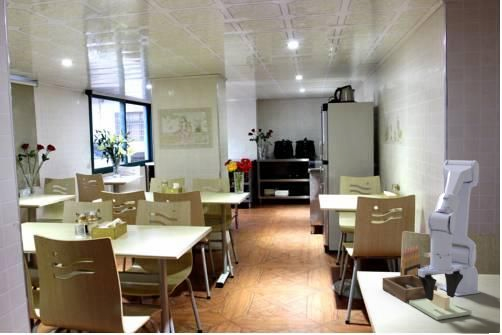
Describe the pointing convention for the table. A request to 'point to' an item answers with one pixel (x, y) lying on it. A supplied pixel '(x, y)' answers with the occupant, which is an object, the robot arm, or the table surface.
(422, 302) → the lid
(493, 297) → the table surface
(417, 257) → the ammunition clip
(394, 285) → the wooden open box
